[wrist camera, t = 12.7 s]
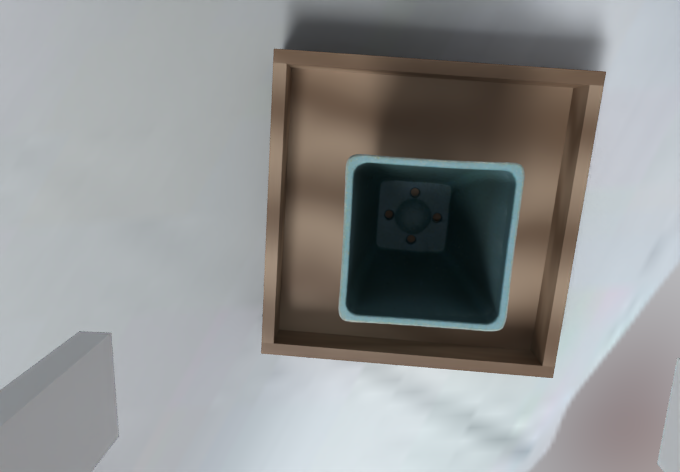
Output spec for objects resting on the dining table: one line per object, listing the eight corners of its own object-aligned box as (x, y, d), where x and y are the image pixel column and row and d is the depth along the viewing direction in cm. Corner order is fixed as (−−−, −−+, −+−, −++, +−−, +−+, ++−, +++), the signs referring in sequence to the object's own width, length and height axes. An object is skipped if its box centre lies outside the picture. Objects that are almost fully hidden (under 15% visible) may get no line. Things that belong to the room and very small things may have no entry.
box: (281, 55, 33) (273, 48, 30) (583, 76, 33) (605, 71, 30) (269, 335, 37) (261, 353, 34) (537, 358, 37) (552, 377, 34)
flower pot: (343, 274, 35) (337, 322, 27) (350, 146, 34) (346, 153, 25) (469, 282, 35) (505, 333, 26) (483, 153, 33) (527, 163, 25)
